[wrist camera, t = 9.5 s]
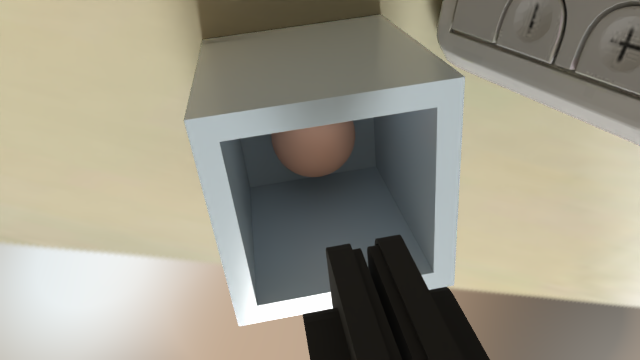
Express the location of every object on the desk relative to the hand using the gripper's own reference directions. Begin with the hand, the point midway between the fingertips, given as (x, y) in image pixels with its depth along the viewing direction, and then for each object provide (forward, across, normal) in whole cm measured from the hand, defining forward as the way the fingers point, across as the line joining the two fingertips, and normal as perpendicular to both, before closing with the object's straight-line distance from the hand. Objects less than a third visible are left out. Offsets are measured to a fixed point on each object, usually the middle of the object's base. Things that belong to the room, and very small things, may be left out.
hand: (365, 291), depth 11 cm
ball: (+9, 0, 0) cm, 9 cm away
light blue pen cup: (+11, 0, 0) cm, 11 cm away
